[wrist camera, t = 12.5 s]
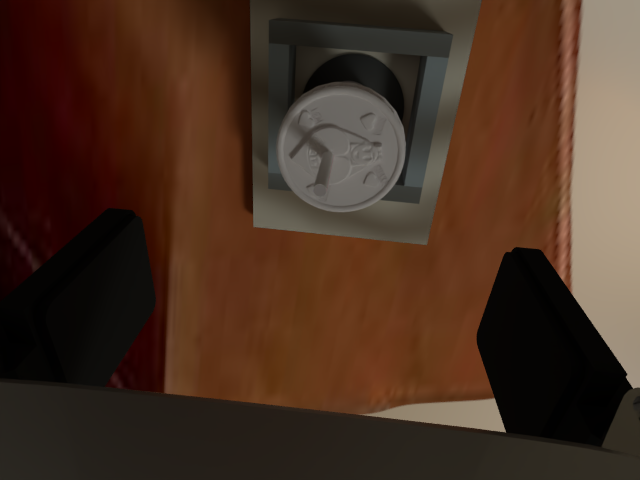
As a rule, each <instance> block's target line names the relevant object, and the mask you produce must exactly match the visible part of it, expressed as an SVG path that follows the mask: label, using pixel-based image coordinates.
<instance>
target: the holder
mask: <svg viewBox="0 0 640 480" xmlns="http://www.w3.org/2000/svg"><path fill="white" fill-rule="evenodd" d="M481 1H482V0H250V34H251V97H252V160H253V223H254V227H261V228H271V229H280V230H290V231H299V232H309V233H318V234H328V235H337V236H347V237H357V238H366V239H376V240H385V241H395V242H404V243H414V244H424V245H427V241H428V237H429V232H430V228H431V224H432V219H433V215H434V210H435V206H436V201H437V197H438V192H439V188H440V184H441V179H442V175H443V170H444V166H445V161H446V157H447V152H448V148H449V144H450V139H451V135H452V130H453V126H454V121H455V117H456V112H457V108H458V104H459V99H460V95H461V90H462V86H463V81H464V77H465V72H466V68H467V64H468V59H469V55H470V50H471V46H472V41H473V37H474V33H475V28H476V24H477V19H478V15H479V10H480V6H481ZM342 81H354V82H357V83H360V84H362V85H363V86H365V87H368V88H371V89H372V90H374V91H375V92H377V93H378V94H380V95H381V96H383V97H384V98H385V99H386V100H387V101H388V102H389V103H390V105H391V106H392V107H393V108H394V109H395V110H396V112H397V114H398V116H399V118H400V121H401V123H402V125H403V127H404V134H405V141H406V147H405V149H406V150H405V161H404V165H403V169H402V171H401V174H400V176H399V178H398V180H397V182H396V183H395V185H394V186H393V187H392V189H391V190H390V191H389V192H388V193H387V194H386V195H385V196H384V197H383V198H381V199H380V200H379V201H377V202H376V203H374V204H372V205H370V206H368V207H366V208H363V209H360V210H356V211H351V212H332V211H326V210H322V209H319V208H317V207H314V206H312V205H310V204H308V203H307V202H305V201H304V200H302V199H301V198H300V197H298V196H297V195H296V194H295V193H294V192H293V191H292V190H291V188H290V187H289V186H288V185H287V183H286V182H285V180H284V178H283V176H282V174H281V172H280V169H279V166H278V162H277V155H276V142H277V136H278V132H279V129H280V126H281V124H282V121H283V119H284V117H285V115H286V114H287V112H288V110H289V108H290V107H291V106H292V105H293V104H294V103H295V102H296V101H297V100H298V99H299V98H300V97H301V96H302V95H303V94H304V93H306V92H308V91H310V90H312V89H313V88H315V87H317V86H320V85H324V84H328V83H332V82H342Z"/></svg>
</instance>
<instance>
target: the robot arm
mask: <svg viewBox="0 0 640 480" xmlns="http://www.w3.org/2000/svg"><path fill="white" fill-rule="evenodd" d="M155 302H156V297H155V291H154V286H153V280H152V274H151V268H150V263H149V257H148V251H147V245H146V240H145V234H144V228H143V223H142V219H141V218H140V217H139V216H136V214H135V213H134V212H133V211H132V210H124V209H114V208H108V209H107V210H105V211H104V212H103V213H102V214H101V215H100V216H98V217H97V218H96V219H95V220H94V221H93V222H91V223H90V224H89V225H88V226H87V227H86V228H85V229H83V230H82V231H81V232H80V233H79V234H78V235H77V236H75V237H74V238H73V239H72V240H71V241H70V242H69V243H67V244H66V245H65V246H64V247H63V248H62V249H60V250H59V251H58V252H57V253H56V254H55V255H54V256H52V257H51V258H50V259H49V260H48V261H47V262H46V263H44V264H43V265H42V266H41V267H40V268H39V269H37V270H36V271H35V272H34V273H33V274H32V275H31V276H29V277H28V278H27V279H26V280H25V281H24V282H23V283H21V284H20V285H19V286H18V287H17V288H16V289H14V290H13V291H12V292H11V293H10V294H9V295H8V296H6V297H5V298H4V299H3V300H2V301H1V302H0V480H640V388H635V389H633V388H632V386H631V385H630V383H629V382H628V380H627V379H626V376H627V373H626V371H625V370H624V369H623V367H622V366H621V364H620V363H619V361H618V360H617V359H616V357H615V356H614V354H613V353H612V351H611V350H610V348H609V347H608V346H607V344H606V343H605V341H604V340H603V338H602V337H601V335H600V334H599V333H598V331H597V330H596V328H595V327H594V326H593V324H592V322H591V321H590V320H589V318H588V317H587V315H586V314H585V313H584V311H583V310H582V308H581V307H580V305H579V304H578V302H577V301H576V299H575V298H574V297H573V295H572V294H571V292H570V291H569V289H568V288H567V287H566V285H565V284H564V282H563V281H562V279H561V278H560V276H559V275H558V274H557V272H556V271H555V269H554V268H553V266H552V265H551V264H550V262H549V261H548V259H547V258H546V256H545V255H544V253H543V252H542V251H541V250H539V249H530V248H520V247H515V248H514V249H513V250H512V251H511V252H506V253H505V254H504V256H503V259H502V262H501V265H500V267H499V270H498V273H497V276H496V279H495V282H494V285H493V288H492V291H491V294H490V296H489V299H488V302H487V305H486V308H485V311H484V314H483V317H482V320H481V322H480V325H479V328H478V332H477V345H478V349H479V352H480V355H481V358H482V361H483V364H484V367H485V370H486V373H487V376H488V379H489V382H490V385H491V388H492V391H493V394H494V397H495V400H496V403H497V406H498V409H499V412H500V415H501V418H502V421H503V424H504V427H505V430H506V433H505V432H497V431H489V430H482V429H475V428H466V427H458V426H448V425H441V424H432V423H424V422H415V421H406V420H398V419H390V418H381V417H372V416H364V415H356V414H347V413H338V412H329V411H320V410H312V409H303V408H294V407H285V406H276V405H267V404H258V403H249V402H240V401H231V400H222V399H213V398H203V397H194V396H185V395H175V394H166V393H156V392H147V391H137V390H128V389H119V388H109V387H105V385H106V384H107V382H108V380H109V379H110V377H111V376H112V374H113V373H114V371H115V370H116V368H117V366H118V365H119V363H120V362H121V360H122V359H123V357H124V356H125V354H126V352H127V351H128V349H129V348H130V346H131V345H132V343H133V342H134V340H135V338H136V337H137V335H138V334H139V332H140V331H141V329H142V328H143V326H144V324H145V323H146V321H147V320H148V318H149V317H150V315H151V314H152V312H153V310H154V307H155Z"/></svg>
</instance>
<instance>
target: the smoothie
mask: <svg viewBox="0 0 640 480" xmlns="http://www.w3.org/2000/svg"><path fill="white" fill-rule="evenodd" d="M405 147H406V141H405V134H404V127H403V125H402V123H401V121H400V118H399V116H398V114H397V112H396V110H395V109H394V108H393V107H392V106H391V105H390V103H389V102H388V101H387V100H386V99H385V98H384V97H383V96H381V95H380V94H378V93H377V92H375V91H374V90H372V89H371V88H368V87H365V86H363V85H362V84H360V83H357V82H354V81H342V82H332V83H328V84H324V85H320V86H317V87H315V88H313V89H312V90H310V91H308V92H306V93H304V94H303V95H302V96H301V97H300V98H299V99H298V100H297V101H296V102H295V103H294V104H293V105H292V106H291V107H290V108H289V110H288V112H287V114H286V115H285V117H284V119H283V121H282V124H281V126H280V129H279V132H278V136H277V142H276V155H277V162H278V166H279V169H280V172H281V174H282V176H283V178H284V180H285V182H286V183H287V185H288V186H289V187H290V188H291V190H292V191H293V192H294V193H295V194H296V195H297V196H298V197H300V198H301V199H302V200H304V201H305V202H307V203H308V204H310V205H312V206H314V207H317V208H319V209H322V210H326V211H332V212H351V211H356V210H360V209H363V208H366V207H368V206H370V205H372V204H374V203H376V202H377V201H379V200H380V199H381V198H383V197H384V196H385V195H386V194H387V193H388V192H389V191H390V190H391V189H392V187H393V186H394V185H395V183H396V182H397V180H398V178H399V176H400V174H401V171H402V169H403V165H404V161H405V150H406V149H405Z"/></svg>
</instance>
